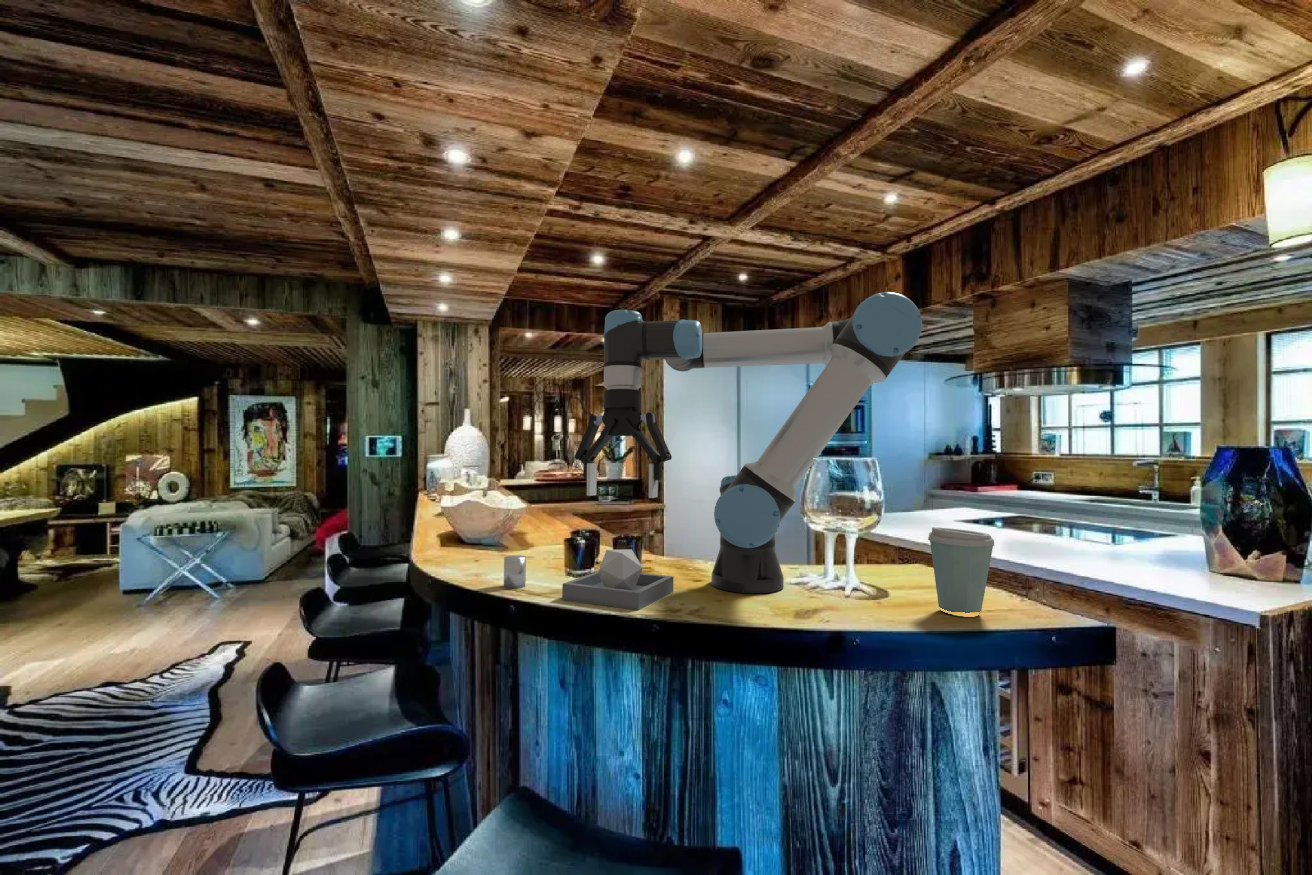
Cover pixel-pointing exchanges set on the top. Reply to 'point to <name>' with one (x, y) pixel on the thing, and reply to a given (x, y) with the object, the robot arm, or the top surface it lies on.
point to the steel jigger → (514, 572)
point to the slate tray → (618, 591)
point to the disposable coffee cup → (960, 567)
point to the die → (620, 569)
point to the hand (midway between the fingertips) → (621, 496)
